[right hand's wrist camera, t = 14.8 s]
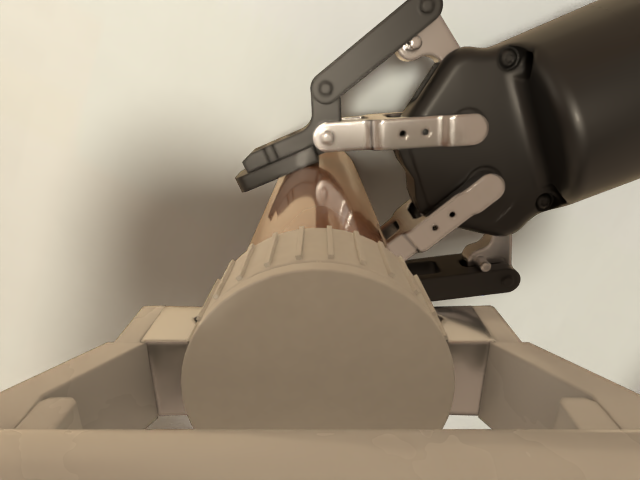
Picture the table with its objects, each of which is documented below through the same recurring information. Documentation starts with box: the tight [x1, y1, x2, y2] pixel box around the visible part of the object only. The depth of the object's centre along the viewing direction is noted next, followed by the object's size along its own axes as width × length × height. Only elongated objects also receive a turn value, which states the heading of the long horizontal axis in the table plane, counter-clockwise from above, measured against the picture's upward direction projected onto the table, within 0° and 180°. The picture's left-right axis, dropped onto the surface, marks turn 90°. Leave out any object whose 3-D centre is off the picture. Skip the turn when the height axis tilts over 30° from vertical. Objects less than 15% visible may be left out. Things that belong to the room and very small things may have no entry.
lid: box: [181, 225, 455, 429], centre depth 9 cm, size 5×5×2 cm
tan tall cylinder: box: [247, 151, 391, 252], centre depth 17 cm, size 5×5×18 cm
